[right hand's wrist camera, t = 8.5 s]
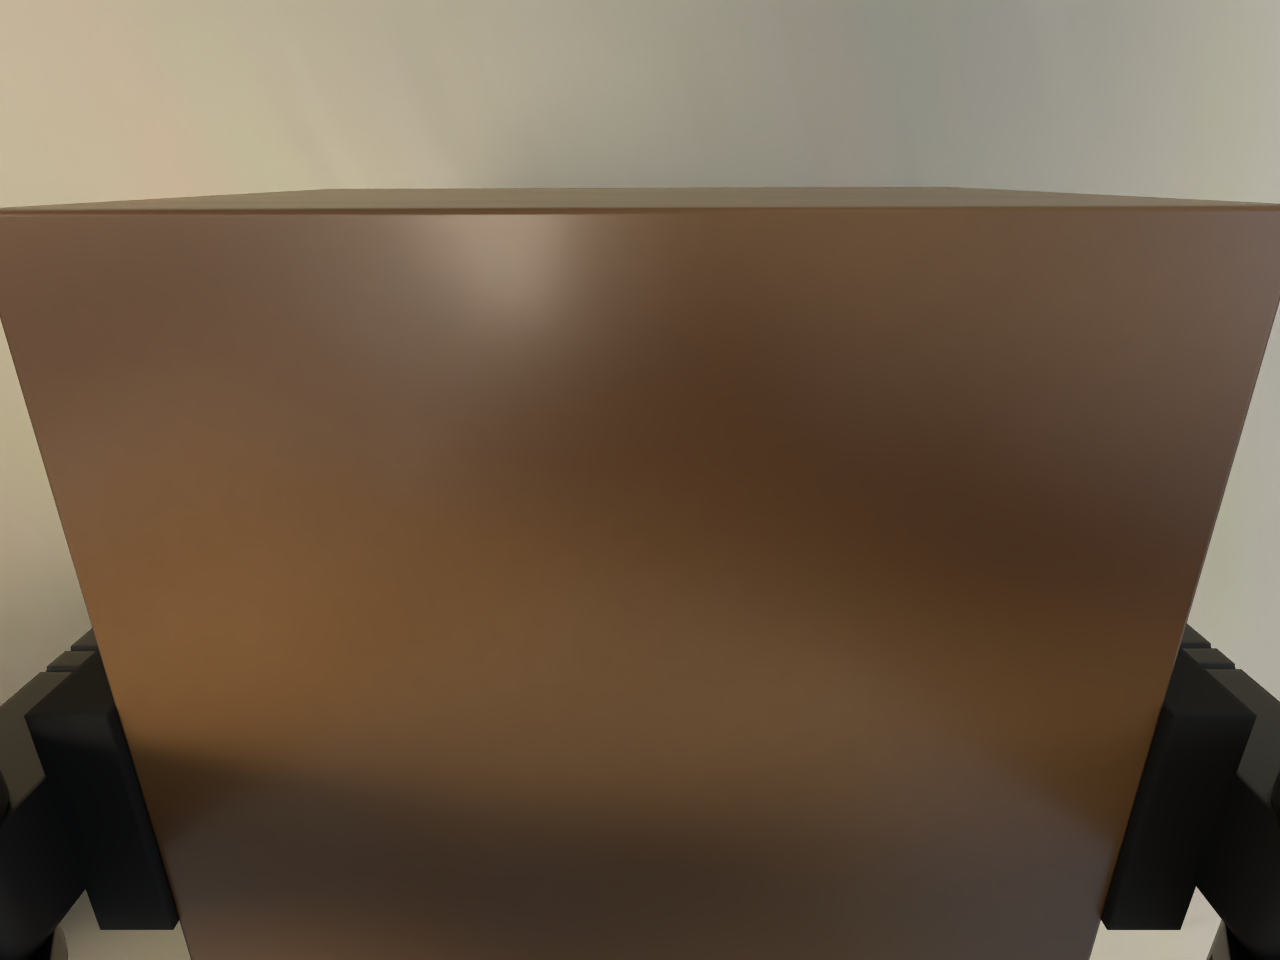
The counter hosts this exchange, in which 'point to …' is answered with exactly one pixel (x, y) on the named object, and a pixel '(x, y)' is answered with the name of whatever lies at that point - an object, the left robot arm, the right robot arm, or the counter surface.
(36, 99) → the counter surface
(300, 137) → the counter surface
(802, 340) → the thick board
